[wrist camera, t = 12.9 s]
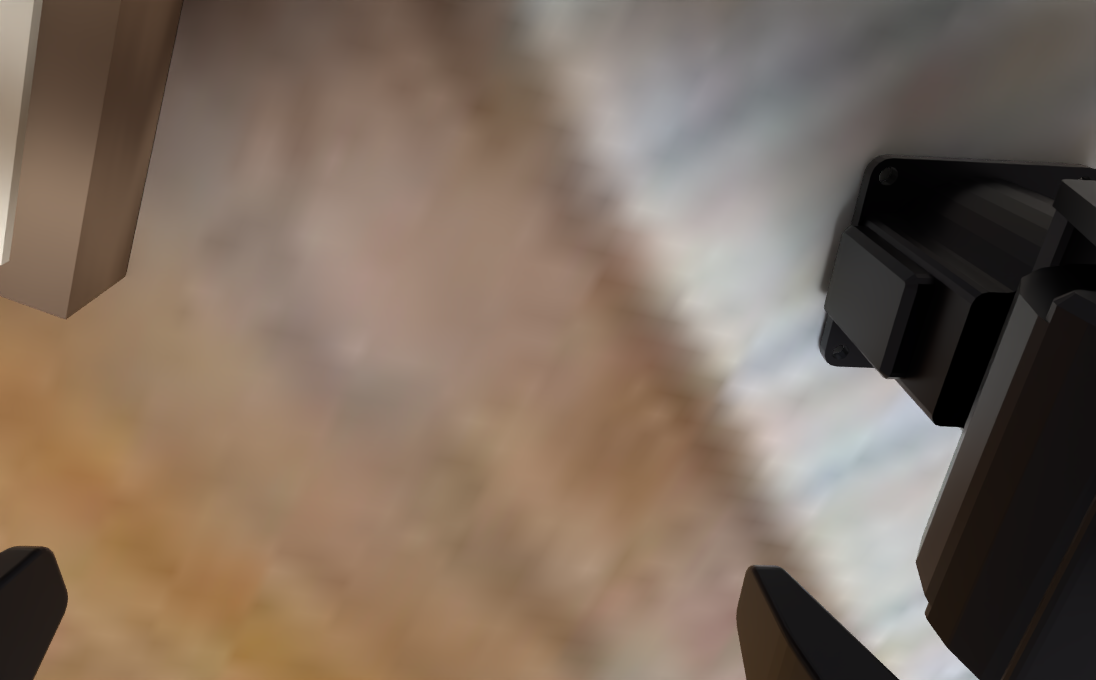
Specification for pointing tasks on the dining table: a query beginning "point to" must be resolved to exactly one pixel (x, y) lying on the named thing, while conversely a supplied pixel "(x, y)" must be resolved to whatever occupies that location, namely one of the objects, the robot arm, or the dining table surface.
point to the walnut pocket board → (76, 141)
